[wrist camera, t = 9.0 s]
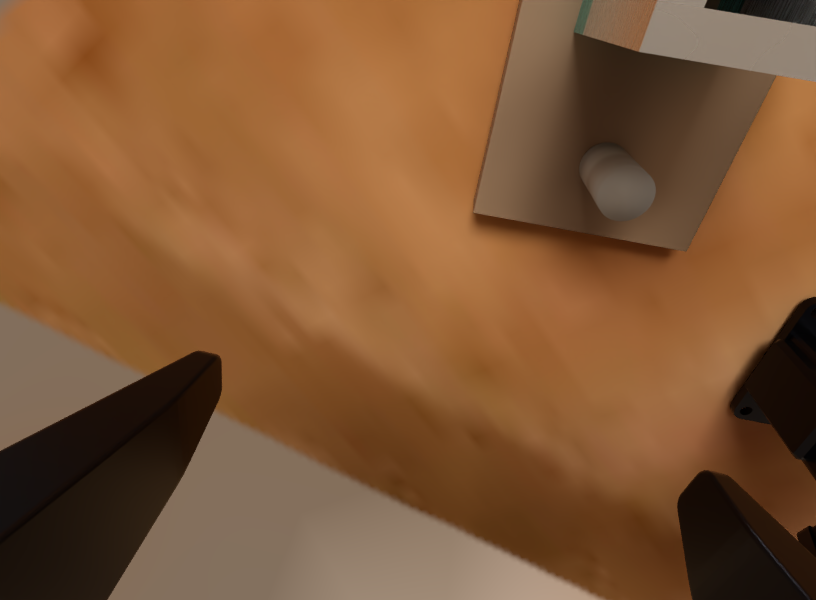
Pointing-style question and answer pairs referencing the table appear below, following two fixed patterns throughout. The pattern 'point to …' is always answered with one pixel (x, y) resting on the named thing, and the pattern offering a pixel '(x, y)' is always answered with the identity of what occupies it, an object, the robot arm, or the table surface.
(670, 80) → the pin board
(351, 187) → the table surface
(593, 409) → the table surface
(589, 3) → the sleeve
